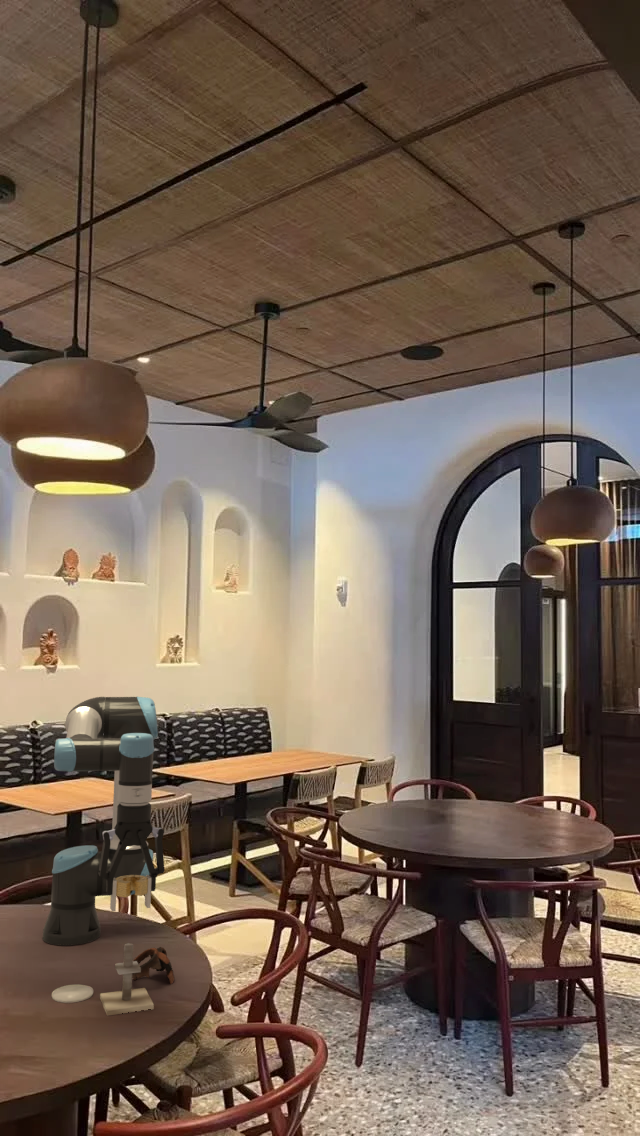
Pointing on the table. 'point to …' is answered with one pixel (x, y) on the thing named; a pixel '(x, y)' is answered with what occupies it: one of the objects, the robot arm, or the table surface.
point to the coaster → (72, 993)
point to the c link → (131, 885)
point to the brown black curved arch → (154, 963)
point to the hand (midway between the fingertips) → (130, 907)
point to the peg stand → (126, 989)
